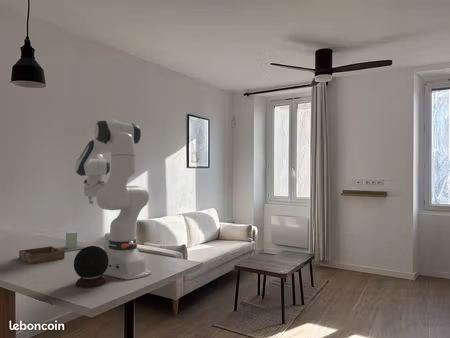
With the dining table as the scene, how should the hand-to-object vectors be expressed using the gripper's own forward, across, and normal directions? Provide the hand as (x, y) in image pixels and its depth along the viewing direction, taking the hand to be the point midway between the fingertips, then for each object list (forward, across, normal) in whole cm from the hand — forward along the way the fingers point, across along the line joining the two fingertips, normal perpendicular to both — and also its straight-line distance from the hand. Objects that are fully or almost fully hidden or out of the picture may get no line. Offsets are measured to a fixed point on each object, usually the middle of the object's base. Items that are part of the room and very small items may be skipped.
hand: (95, 204), depth 202 cm
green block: (+25, +8, +10) cm, 28 cm away
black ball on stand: (+28, -59, +34) cm, 74 cm away
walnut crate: (+26, -4, +31) cm, 41 cm away
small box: (+27, -14, -4) cm, 30 cm away
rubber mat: (+26, +8, +10) cm, 29 cm away
